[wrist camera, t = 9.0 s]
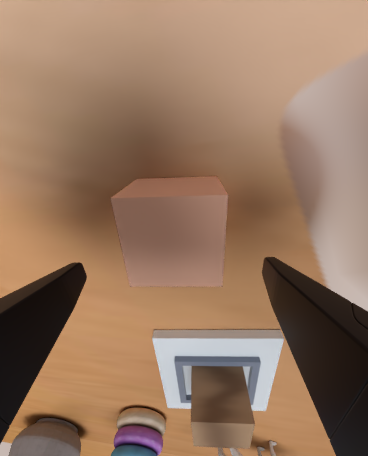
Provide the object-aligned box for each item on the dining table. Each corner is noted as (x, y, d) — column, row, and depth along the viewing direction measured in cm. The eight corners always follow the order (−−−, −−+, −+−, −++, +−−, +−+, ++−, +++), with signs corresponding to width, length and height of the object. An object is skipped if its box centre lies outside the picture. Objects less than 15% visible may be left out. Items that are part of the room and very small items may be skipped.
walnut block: (242, 365, 22) (254, 424, 18) (239, 391, 25) (249, 448, 20) (191, 364, 22) (190, 421, 18) (193, 390, 25) (193, 446, 21)
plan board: (280, 329, 20) (286, 344, 19) (263, 401, 27) (267, 416, 26) (154, 330, 21) (151, 343, 20) (168, 399, 28) (167, 413, 27)
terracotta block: (217, 175, 14) (228, 194, 9) (214, 245, 16) (222, 286, 12) (136, 178, 14) (110, 198, 10) (147, 246, 17) (130, 286, 12)
